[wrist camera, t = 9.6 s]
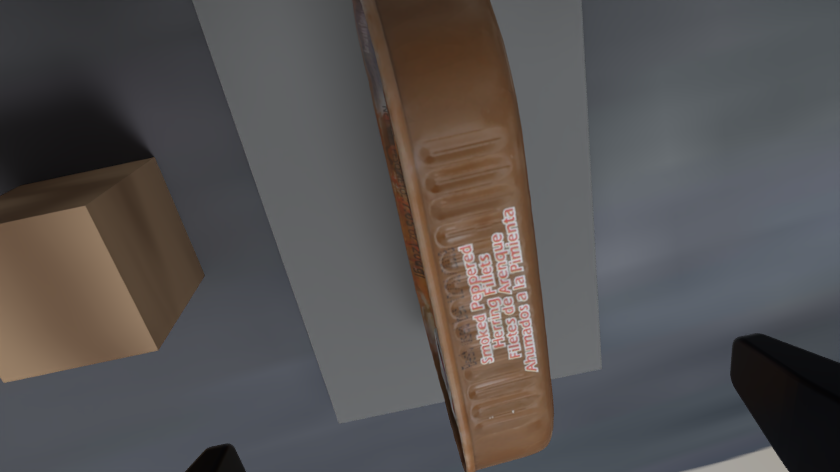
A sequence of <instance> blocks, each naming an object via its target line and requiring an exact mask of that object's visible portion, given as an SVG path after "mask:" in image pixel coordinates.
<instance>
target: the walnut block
mask: <svg viewBox="0 0 840 472" xmlns="http://www.w3.org/2000/svg"><path fill="white" fill-rule="evenodd" d="M204 276H205V275H204V273H203V270H202V268H201V265H200V263H199V261H198V258H197V256H196V254H195V251H194V249H193V247H192V244H191V242H190V240H189V237H188V235H187V233H186V230H185V228H184V225H183V223H182V221H181V218H180V216H179V214H178V211H177V209H176V207H175V204H174V202H173V200H172V197H171V195H170V193H169V190H168V188H167V186H166V183H165V181H164V178H163V176H162V174H161V171H160V169H159V167H158V164H157V162H156V160H155V157H153V158H148V159H143V160H139V161H134V162H129V163H125V164H120V165H115V166H111V167H106V168H101V169H96V170H92V171H87V172H82V173H78V174H73V175H68V176H64V177H59V178H54V179H49V180H45V181H40V182H35V183H31V184H26V185H21V186H18V187H16V188H15V189H13V190H11V191H9V192H7V193H5V194H3V195H1V196H0V378H1V379H2V381H3V382H4V383H5V382H10V381H15V380H20V379H24V378H29V377H34V376H39V375H44V374H48V373H53V372H58V371H63V370H67V369H72V368H77V367H82V366H86V365H91V364H96V363H101V362H105V361H110V360H115V359H120V358H124V357H129V356H134V355H139V354H143V353H148V352H153V351H158V350H159V348H160V347H161V345H162V344H163V342H164V340H165V339H166V337H167V336H168V334H169V332H170V331H171V329H172V328H173V326H174V324H175V323H176V321H177V319H178V318H179V316H180V315H181V313H182V311H183V310H184V308H185V307H186V305H187V303H188V302H189V300H190V299H191V297H192V295H193V294H194V292H195V291H196V289H197V287H198V286H199V284H200V283H201V281H202V279H203V278H204Z"/></svg>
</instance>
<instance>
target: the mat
mask: <svg viewBox="0 0 840 472" xmlns="http://www.w3.org/2000/svg"><path fill="white" fill-rule="evenodd" d="M192 1H193V4H194V7H195V10H196V13H197V16H198V19H199V22H200V24H201V27H202V30H203V33H204V36H205V39H206V42H207V45H208V48H209V50H210V53H211V56H212V59H213V62H214V65H215V68H216V71H217V73H218V76H219V79H220V82H221V85H222V88H223V91H224V94H225V97H226V99H227V102H228V105H229V108H230V111H231V114H232V117H233V120H234V122H235V125H236V128H237V131H238V134H239V137H240V140H241V143H242V145H243V148H244V151H245V154H246V157H247V160H248V163H249V166H250V169H251V171H252V174H253V177H254V180H255V183H256V186H257V189H258V192H259V194H260V197H261V200H262V203H263V206H264V209H265V212H266V215H267V218H268V220H269V223H270V226H271V229H272V232H273V235H274V238H275V241H276V243H277V246H278V249H279V252H280V255H281V258H282V261H283V264H284V266H285V269H286V272H287V275H288V278H289V281H290V284H291V287H292V290H293V292H294V295H295V298H296V301H297V304H298V307H299V310H300V313H301V315H302V318H303V321H304V324H305V327H306V330H307V333H308V336H309V339H310V341H311V344H312V347H313V350H314V353H315V356H316V359H317V362H318V364H319V367H320V370H321V373H322V376H323V379H324V382H325V385H326V387H327V390H328V393H329V396H330V399H331V402H332V405H333V408H334V411H335V413H336V416H337V419H338V422H339V424H340V423H345V422H350V421H355V420H359V419H364V418H369V417H374V416H379V415H383V414H388V413H393V412H398V411H403V410H407V409H412V408H417V407H422V406H426V405H431V404H436V403H441V402H445V400H444V396H443V393H442V390H441V386H440V383H439V379H438V375H437V371H436V368H435V365H434V360H433V356H432V352H431V350H430V345H429V341H428V338H427V334H426V330H425V326H424V322H423V318H422V314H421V309H420V304H419V301H418V297H417V293H416V289H415V285H414V281H413V276H412V272H411V268H410V264H409V260H408V255H407V251H406V246H405V242H404V238H403V233H402V229H401V224H400V219H399V215H398V211H397V206H396V202H395V197H394V193H393V189H392V185H391V180H390V175H389V171H388V167H387V162H386V158H385V154H384V150H383V145H382V141H381V136H380V132H379V127H378V123H377V119H376V114H375V110H374V106H373V101H372V96H371V91H370V87H369V81H368V77H367V74H366V70H365V66H364V62H363V56H362V52H361V48H360V43H359V39H358V34H357V29H356V23H355V17H354V10H353V3H352V0H192ZM490 2H491V5H492V8H493V11H494V14H495V17H496V20H497V23H498V26H499V29H500V32H501V35H502V38H503V41H504V45H505V49H506V53H507V57H508V61H509V65H510V70H511V74H512V78H513V83H514V88H515V92H516V97H517V103H518V109H519V115H520V121H521V126H522V134H523V142H524V150H525V158H526V165H527V174H528V182H529V190H530V196H531V207H532V215H533V222H534V230H535V239H536V247H537V255H538V265H539V274H540V282H541V290H542V299H543V309H544V317H545V328H546V335H547V345H548V355H549V366H550V376H551V379H556V378H560V377H565V376H570V375H575V374H580V373H584V372H589V371H594V370H599V369H602V364H601V346H600V327H599V309H598V291H597V273H596V255H595V237H594V218H593V200H592V182H591V164H590V146H589V128H588V109H587V91H586V73H585V55H584V37H583V19H582V0H490Z"/></svg>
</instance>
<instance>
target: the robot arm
mask: <svg viewBox="0 0 840 472" xmlns="http://www.w3.org/2000/svg"><path fill="white" fill-rule="evenodd" d="M730 376H731V380H732V383H733V386H734V388H735V389H736V391H737V393H738V394H739V396H740V397H741V399H742V400H743V402H744V403H745V405H746V407H747V408H748V410H749V411H750V413H751V414H752V416H753V418H754V419H755V421H756V422H757V424H758V425H759V427H760V429H761V430H762V432H763V433H764V435H765V436H766V438H767V439H768V441H769V443H770V444H771V446H772V447H773V449H774V450H775V452H776V453H777V455H778V456H779V458H780V459H781V461H782V462H783V464H784V465H785V467H786V468H787V469H788V471H789V472H840V363H839V362H836V361H833V360H831V359H828V358H825V357H823V356H820V355H817V354H815V353H812V352H809V351H807V350H804V349H801V348H799V347H796V346H793V345H791V344H788V343H785V342H783V341H780V340H777V339H775V338H772V337H769V336H767V335H764V334H760V333H755V334H750V335H745V336H741V337H738V338H736V339H735V340H734V342H733V345H732V357H731V370H730ZM185 472H246V471H245V469H244V466H243V464H242V462H241V460H240V458H239V456H238V454H237V452H236V450H235V448H234V446H233V445H231V444H222V445H217V446H212V447H209V448H207V449H206V450H205V451H204V452H203V453H202V454H201V455H200V456H199V457H198V458H197V459H196V460H195V461H194V462H193V464H192V465H191V466H190V467H189V468H188V469H187V470H186V471H185Z"/></svg>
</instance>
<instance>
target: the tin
mask: <svg viewBox="0 0 840 472" xmlns="http://www.w3.org/2000/svg"><path fill="white" fill-rule="evenodd" d="M352 3H353V10H354V17H355V23H356V29H357V34H358V39H359V43H360V48H361V52H362V56H363V62H364V66H365V70H366V74H367V77H368V81H369V87H370V91H371V96H372V101H373V106H374V110H375V114H376V119H377V123H378V127H379V132H380V136H381V141H382V145H383V150H384V154H385V158H386V162H387V167H388V171H389V175H390V180H391V185H392V189H393V193H394V197H395V202H396V206H397V211H398V215H399V219H400V224H401V229H402V233H403V238H404V242H405V246H406V251H407V255H408V260H409V264H410V268H411V272H412V276H413V281H414V285H415V289H416V293H417V297H418V301H419V304H420V309H421V314H422V318H423V322H424V326H425V330H426V334H427V338H428V341H429V345H430V350H431V352H432V356H433V360H434V365H435V368H436V371H437V375H438V379H439V383H440V386H441V390H442V393H443V396H444V400H445V403H446V407H447V411H448V416H449V420H450V423H451V427H452V430H453V434H454V438H455V441H456V444H457V447H458V451H459V455H460V459H461V462H462V465H463V468H464V471H465V472H475V471H477V470H479V469H482V468H486V467H490V466H493V465H497V464H501V463H504V462H508V461H512V460H515V459H519V458H522V457H526V456H529V455H532V454H535V453H537V452H539V451H541V450H543V449H544V448H545V447H546V446H547V445H548V444H549V442H550V439H551V436H552V431H553V417H554V408H553V395H552V386H551V376H550V366H549V355H548V345H547V335H546V328H545V317H544V309H543V299H542V290H541V282H540V274H539V265H538V255H537V247H536V239H535V230H534V222H533V215H532V207H531V196H530V190H529V182H528V174H527V165H526V158H525V150H524V142H523V134H522V126H521V121H520V115H519V109H518V103H517V97H516V92H515V88H514V83H513V78H512V74H511V70H510V65H509V61H508V57H507V53H506V49H505V45H504V41H503V38H502V35H501V32H500V29H499V26H498V23H497V20H496V17H495V14H494V11H493V8H492V5H491V2H490V0H352Z"/></svg>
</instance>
